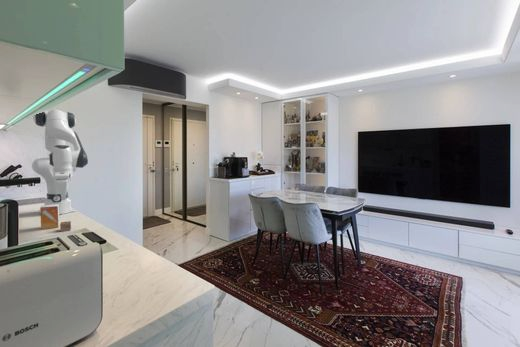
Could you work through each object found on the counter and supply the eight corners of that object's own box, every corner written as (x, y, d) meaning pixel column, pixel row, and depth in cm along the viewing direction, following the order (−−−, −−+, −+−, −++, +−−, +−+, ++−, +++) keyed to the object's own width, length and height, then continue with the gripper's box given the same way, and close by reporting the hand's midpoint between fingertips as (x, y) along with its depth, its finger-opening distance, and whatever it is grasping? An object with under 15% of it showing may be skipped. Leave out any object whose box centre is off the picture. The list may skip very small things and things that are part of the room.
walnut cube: (61, 229, 150) (61, 222, 150) (71, 228, 153) (70, 221, 152) (60, 232, 147) (60, 224, 146) (70, 230, 149) (70, 223, 149)
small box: (41, 229, 149) (39, 207, 148) (42, 226, 154) (41, 205, 153) (58, 227, 153) (57, 205, 152) (59, 224, 159) (58, 203, 157)
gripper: (58, 172, 154) (59, 196, 155) (53, 176, 136) (55, 202, 138) (71, 172, 157) (72, 195, 158) (68, 175, 140) (69, 201, 141)
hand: (64, 198), depth 148 cm, fingers open, 8 cm apart
